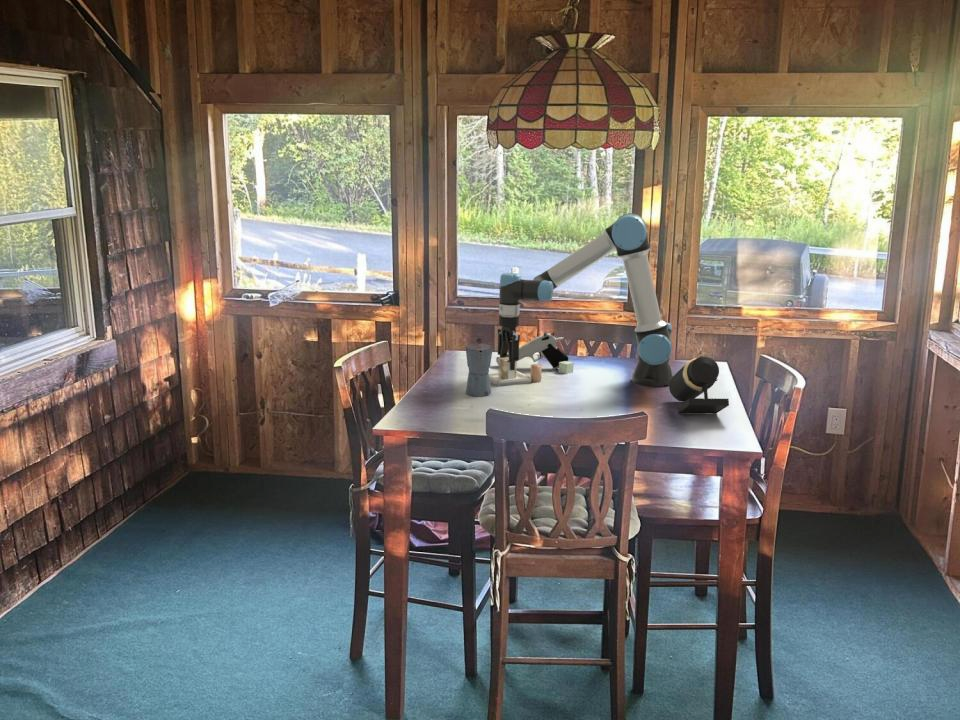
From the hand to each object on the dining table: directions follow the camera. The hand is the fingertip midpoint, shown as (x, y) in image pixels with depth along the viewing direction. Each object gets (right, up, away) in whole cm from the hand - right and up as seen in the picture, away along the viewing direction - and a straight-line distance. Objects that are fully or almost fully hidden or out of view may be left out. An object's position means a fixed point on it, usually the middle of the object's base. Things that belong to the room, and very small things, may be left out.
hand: (507, 376), depth 337 cm
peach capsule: (+11, -2, +1) cm, 11 cm away
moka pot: (-11, -6, -18) cm, 22 cm away
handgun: (+11, +3, +21) cm, 24 cm away
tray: (0, -2, 0) cm, 2 cm away
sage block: (+23, +1, +16) cm, 28 cm away
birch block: (0, 0, 0) cm, 0 cm away
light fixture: (+62, -11, -33) cm, 71 cm away
